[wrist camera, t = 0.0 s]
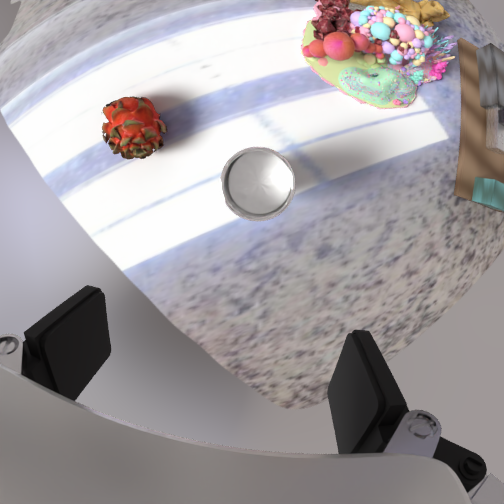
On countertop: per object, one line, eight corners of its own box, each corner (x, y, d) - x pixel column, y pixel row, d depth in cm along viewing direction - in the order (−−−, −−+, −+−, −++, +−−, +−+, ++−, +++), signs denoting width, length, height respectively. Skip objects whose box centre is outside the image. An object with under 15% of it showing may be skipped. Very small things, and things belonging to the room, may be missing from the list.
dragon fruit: (171, 161, 40) (129, 116, 40) (189, 118, 33) (141, 75, 33) (125, 183, 34) (85, 133, 34) (137, 136, 28) (91, 87, 28)
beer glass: (292, 161, 37) (305, 154, 23) (281, 209, 39) (287, 231, 25) (243, 150, 37) (226, 137, 23) (232, 198, 39) (210, 214, 25)
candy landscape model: (318, -29, 27) (326, -60, 19) (441, 21, 28) (466, 3, 19) (290, 82, 35) (295, 59, 26) (432, 135, 35) (466, 131, 26)
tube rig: (457, 40, 28) (476, 28, 21) (500, 67, 28) (520, 61, 21) (453, 194, 36) (478, 200, 30) (496, 210, 36) (520, 217, 30)
